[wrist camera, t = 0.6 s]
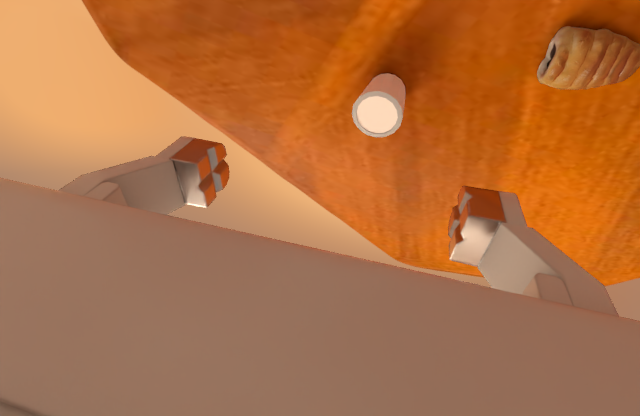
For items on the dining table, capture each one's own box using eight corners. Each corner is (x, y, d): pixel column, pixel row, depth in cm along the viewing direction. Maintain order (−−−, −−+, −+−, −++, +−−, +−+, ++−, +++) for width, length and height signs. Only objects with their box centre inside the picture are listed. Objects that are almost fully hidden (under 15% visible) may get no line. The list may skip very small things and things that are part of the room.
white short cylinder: (420, 94, 47) (413, 119, 43) (384, 121, 52) (375, 146, 48) (388, 58, 45) (378, 80, 41) (354, 89, 50) (341, 112, 46)
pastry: (657, 27, 35) (670, 40, 32) (618, 88, 39) (627, 104, 37) (555, 22, 37) (561, 34, 34) (530, 80, 42) (533, 95, 39)
